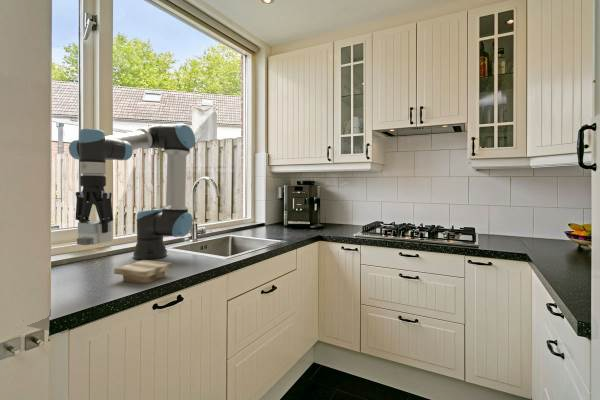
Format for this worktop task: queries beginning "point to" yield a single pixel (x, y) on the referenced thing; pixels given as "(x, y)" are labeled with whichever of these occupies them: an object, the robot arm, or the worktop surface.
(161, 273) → the stand
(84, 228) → the housing
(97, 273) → the worktop surface
